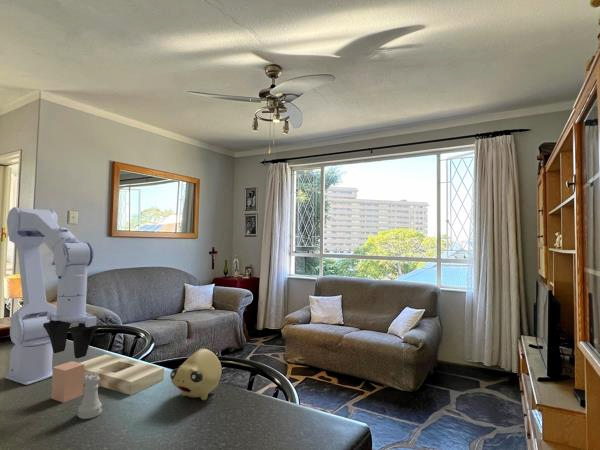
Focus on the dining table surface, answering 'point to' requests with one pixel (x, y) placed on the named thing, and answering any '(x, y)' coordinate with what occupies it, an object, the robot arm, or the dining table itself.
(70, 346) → the dining table surface
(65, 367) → the square peg
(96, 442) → the dining table surface
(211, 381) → the yellow toy creature
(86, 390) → the rook chess piece
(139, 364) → the rail
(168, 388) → the dining table surface
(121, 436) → the dining table surface
